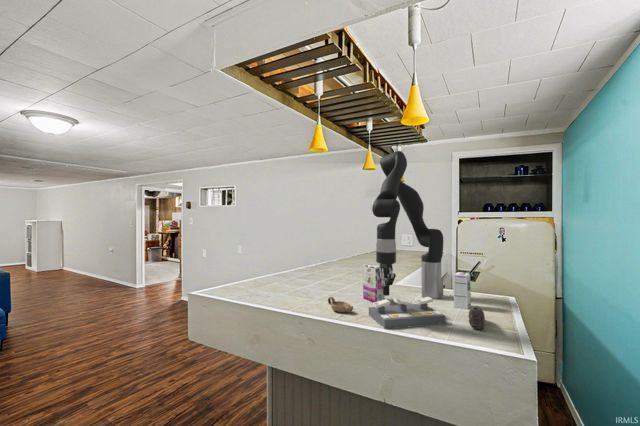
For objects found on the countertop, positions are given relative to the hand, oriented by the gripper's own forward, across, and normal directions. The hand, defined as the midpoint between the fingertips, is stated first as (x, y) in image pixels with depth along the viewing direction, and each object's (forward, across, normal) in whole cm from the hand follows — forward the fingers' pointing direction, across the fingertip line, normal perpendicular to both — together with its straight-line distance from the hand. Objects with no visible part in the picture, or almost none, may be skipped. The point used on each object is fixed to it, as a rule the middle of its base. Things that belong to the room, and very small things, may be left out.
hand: (386, 295), depth 125 cm
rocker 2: (+3, 0, -16) cm, 16 cm away
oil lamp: (+10, +14, +15) cm, 22 cm away
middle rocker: (+3, 0, -7) cm, 8 cm away
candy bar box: (+9, +26, -5) cm, 28 cm away
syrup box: (+9, +8, -39) cm, 41 cm away
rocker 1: (+3, 0, +2) cm, 4 cm away
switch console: (+9, -2, -7) cm, 12 cm away
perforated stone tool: (+9, -14, -29) cm, 34 cm away
